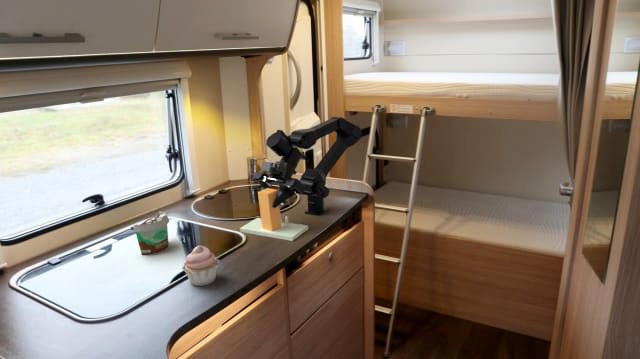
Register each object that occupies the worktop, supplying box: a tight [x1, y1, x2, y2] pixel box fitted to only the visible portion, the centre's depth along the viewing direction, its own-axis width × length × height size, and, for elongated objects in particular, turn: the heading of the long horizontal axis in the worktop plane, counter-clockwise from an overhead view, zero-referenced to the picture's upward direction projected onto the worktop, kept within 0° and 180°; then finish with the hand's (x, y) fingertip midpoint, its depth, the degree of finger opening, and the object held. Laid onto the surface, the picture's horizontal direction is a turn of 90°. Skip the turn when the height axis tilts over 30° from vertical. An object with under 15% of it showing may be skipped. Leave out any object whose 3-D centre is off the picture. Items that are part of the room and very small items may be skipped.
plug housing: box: [257, 188, 282, 232], centre depth 144 cm, size 4×4×13 cm
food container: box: [133, 211, 170, 256], centre depth 137 cm, size 12×6×10 cm, turn 161°
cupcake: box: [181, 245, 220, 287], centre depth 116 cm, size 9×9×10 cm
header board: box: [239, 214, 309, 242], centre depth 147 cm, size 10×20×4 cm, turn 62°
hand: (266, 205), depth 143 cm, fingers open, 6 cm apart
